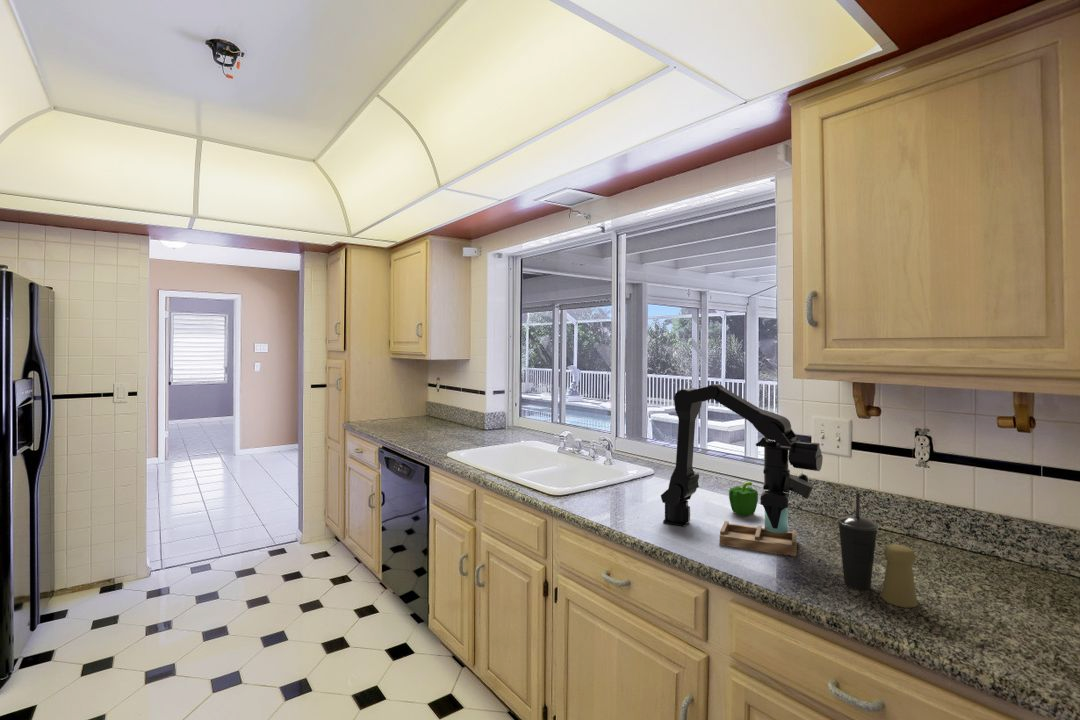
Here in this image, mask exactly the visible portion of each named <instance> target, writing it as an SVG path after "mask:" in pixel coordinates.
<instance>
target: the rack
mask: <svg viewBox="0 0 1080 720" xmlns="http://www.w3.org/2000/svg"><path fill="white" fill-rule="evenodd" d="M797 531H798V530H792V531H788V532H786V533H773V532H769V531H767V530H765V527H762V525H757V526H751V525H744V524H737V523H730V522H729V521H727V520H724V522H723V524H722V527H721V528H720V530H719V545H721V546H727V547H731V548H732V547H734V548H740V549H744V550H745V549H746V550H751V551H758V552H764V553H769V554H778V555H782V554H784V555H783V556H788V555H791V557H795V556H796V557H797V546H798V545H797V543H798V541H797V540H798V539H797V536H798V535H797V534H798V532H797Z"/></svg>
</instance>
